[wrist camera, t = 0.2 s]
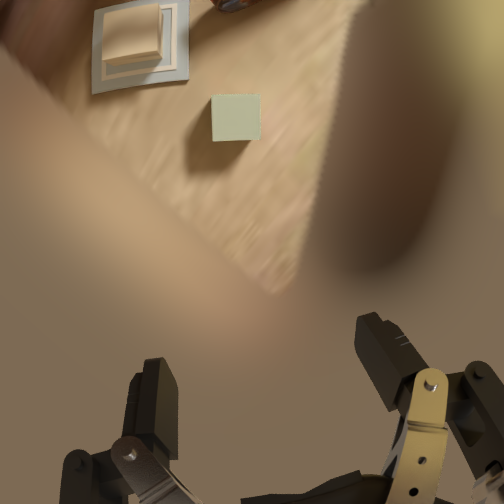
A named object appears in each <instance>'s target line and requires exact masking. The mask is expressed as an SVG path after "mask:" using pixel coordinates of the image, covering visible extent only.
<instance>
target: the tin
mask: <svg viewBox="0 0 504 504" xmlns="http://www.w3.org/2000/svg"><path fill="white" fill-rule="evenodd" d="M211 1H212V3H213V4H214V5H215V6H216V8H217V10H218V11H219V12H221V13H230V12H234V11H238V10H240V9H243V8H246V7H248V6H250V5H252V4H255V3H257V2H259V1H262V0H211Z"/></svg>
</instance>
